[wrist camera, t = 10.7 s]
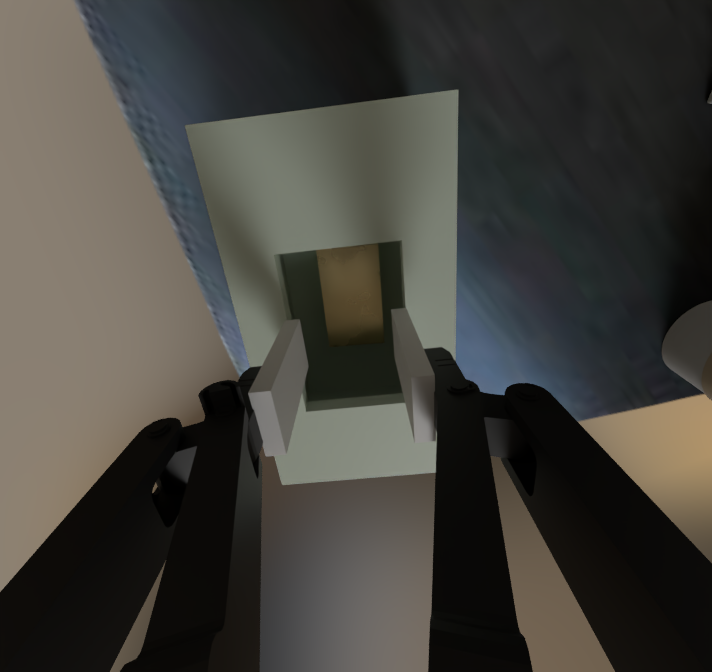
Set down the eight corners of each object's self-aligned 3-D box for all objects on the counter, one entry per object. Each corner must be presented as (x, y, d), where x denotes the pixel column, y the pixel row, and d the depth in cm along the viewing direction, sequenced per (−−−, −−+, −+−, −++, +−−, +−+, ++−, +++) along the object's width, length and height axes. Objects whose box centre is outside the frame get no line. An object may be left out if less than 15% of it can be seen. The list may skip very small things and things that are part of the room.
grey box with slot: (252, 147, 23) (184, 125, 14) (416, 126, 22) (458, 89, 13) (303, 396, 31) (282, 484, 22) (424, 384, 31) (454, 470, 22)
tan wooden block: (320, 242, 25) (316, 249, 22) (375, 237, 25) (378, 244, 22) (332, 330, 28) (329, 347, 25) (381, 326, 27) (384, 342, 25)
